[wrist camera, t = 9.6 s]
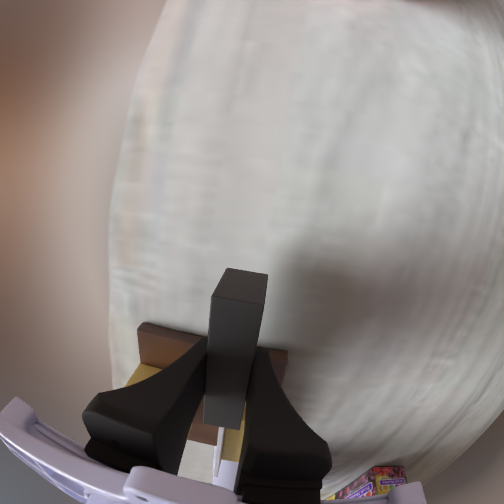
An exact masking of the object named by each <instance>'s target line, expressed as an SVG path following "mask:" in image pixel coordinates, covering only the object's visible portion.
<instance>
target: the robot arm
mask: <svg viewBox="0 0 504 504" xmlns="http://www.w3.org/2000/svg"><path fill="white" fill-rule="evenodd" d="M207 344H208V338H205V337H202V338H200V339H199V340H198V341H197V342H196V343H195V344H194V345H193V346H192V347H191V348H190V349H189V350H188V351H187V352H185V353H184V354H183V355H182V356H181V357H179V358H178V359H177V360H176V361H174V362H173V363H171V364H170V365H169V366H167V367H166V368H164V369H163V370H161V371H159V372H158V373H156V374H154V375H152V376H151V377H148V378H146V379H144V380H142V381H140V382H138V383H135V384H132V385H130V386H127V387H123V388H120V389H116V390H112V391H107V392H102V393H98V394H97V395H96V396H95V397H94V398H93V400H92V401H91V402H90V403H89V405H88V406H87V408H86V409H85V410H84V412H83V413H82V419H83V422H84V424H85V426H86V428H87V431H88V433H89V434H90V436H91V439H90V440H89V442H88V443H87V445H86V447H85V446H83V445H82V444H80V443H78V442H76V441H74V440H72V439H71V438H69V437H67V436H65V435H64V434H62V433H60V432H59V431H57V430H55V429H54V428H52V427H50V426H49V425H47V424H46V423H44V422H43V421H41V420H40V419H38V416H37V414H36V413H35V411H34V410H33V409H32V408H31V407H30V406H29V405H28V404H26V403H25V402H24V401H22V400H21V399H19V398H18V397H14V398H13V400H12V401H11V402H10V403H9V404H8V405H7V406H6V407H5V408H4V409H3V411H2V412H1V413H0V438H1V439H2V441H3V442H4V443H5V444H6V446H7V447H8V448H9V449H10V450H11V451H12V453H13V454H15V455H16V456H17V457H18V458H19V459H21V460H22V461H23V462H24V463H26V464H27V465H28V466H29V467H31V468H32V469H33V470H34V471H36V472H37V473H38V474H40V475H41V476H42V477H44V478H45V479H47V480H48V481H49V482H51V483H52V484H53V485H55V486H56V487H58V488H59V489H61V490H62V491H64V492H65V493H67V494H68V495H70V496H71V497H73V498H75V499H76V500H78V501H80V502H81V503H83V504H427V503H426V499H425V496H424V492H423V488H422V484H421V481H416V482H412V483H407V484H403V485H399V486H397V487H394V488H393V489H392V490H390V491H389V492H388V493H387V494H381V495H375V496H367V497H359V498H349V499H336V500H320V489H322V479H323V478H324V477H325V476H326V475H327V473H328V472H329V471H330V470H331V468H332V458H331V454H330V450H329V447H328V444H327V442H326V441H324V440H323V439H322V438H321V437H320V436H318V435H317V434H316V433H315V432H314V431H313V430H312V429H311V428H310V427H309V426H308V425H307V424H306V423H305V422H304V421H303V419H302V418H301V417H300V416H299V415H298V413H297V412H296V411H295V409H294V408H293V406H292V405H291V403H290V402H289V400H288V399H287V397H286V395H285V393H284V392H283V390H282V388H281V386H280V383H279V381H278V379H277V376H276V374H275V371H274V369H273V365H272V362H271V358H270V353H269V350H268V349H265V348H258V347H256V352H255V358H254V363H253V368H252V373H251V378H250V383H249V388H248V393H247V397H246V407H245V424H244V435H243V441H242V447H241V453H240V458H239V462H233V461H227V460H222V459H221V464H220V468H219V472H218V477H214V476H213V481H212V484H209V483H204V482H199V481H195V480H191V479H187V478H183V477H180V476H177V474H178V470H179V466H180V462H181V458H182V455H183V451H184V448H185V444H186V440H187V437H188V434H189V430H190V427H191V424H192V421H193V419H194V416H195V414H196V412H197V409H198V407H199V405H200V402H201V400H202V398H203V396H204V391H205V374H206V358H207ZM216 449H217V446H215V452H214V463H213V475H214V467H215V458H216Z"/></svg>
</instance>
